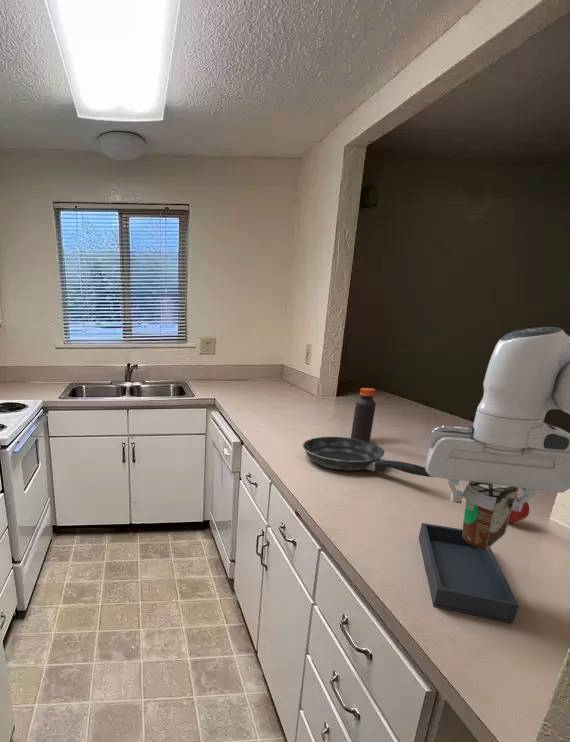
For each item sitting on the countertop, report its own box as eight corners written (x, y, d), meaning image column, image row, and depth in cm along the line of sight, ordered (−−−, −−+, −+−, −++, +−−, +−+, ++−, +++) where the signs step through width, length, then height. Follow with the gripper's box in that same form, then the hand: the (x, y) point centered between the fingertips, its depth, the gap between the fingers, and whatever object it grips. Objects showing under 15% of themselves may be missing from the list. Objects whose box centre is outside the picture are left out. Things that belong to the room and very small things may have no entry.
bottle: (354, 444, 162) (362, 391, 155) (347, 438, 168) (354, 387, 161) (372, 444, 161) (381, 390, 154) (365, 438, 168) (373, 387, 161)
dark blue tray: (479, 547, 94) (483, 532, 93) (513, 624, 72) (519, 605, 71) (418, 537, 99) (421, 522, 97) (433, 606, 77) (437, 588, 75)
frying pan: (285, 456, 150) (287, 438, 147) (337, 445, 160) (340, 427, 158) (400, 506, 113) (405, 483, 111) (458, 487, 124) (463, 465, 121)
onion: (499, 526, 103) (508, 495, 100) (491, 515, 108) (499, 486, 105) (529, 529, 101) (538, 498, 98) (518, 518, 106) (527, 488, 104)
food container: (469, 520, 84) (480, 471, 81) (507, 531, 80) (520, 481, 76) (442, 539, 77) (452, 488, 74) (482, 553, 73) (495, 499, 69)
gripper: (434, 428, 73) (419, 503, 77) (592, 442, 65) (563, 524, 70) (430, 419, 78) (415, 489, 83) (574, 431, 70) (549, 507, 75)
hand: (484, 505), depth 76 cm, fingers closed on food container, 7 cm apart
